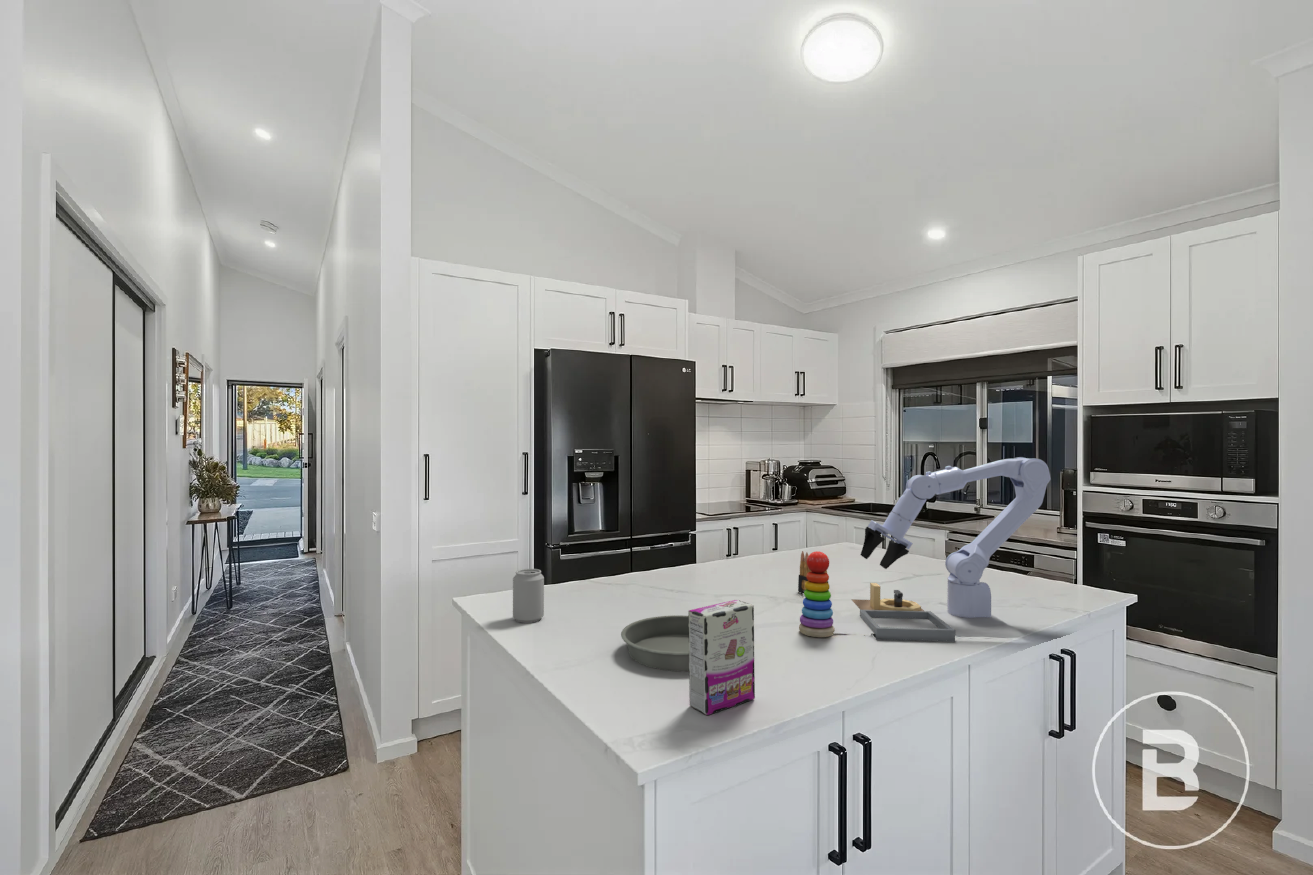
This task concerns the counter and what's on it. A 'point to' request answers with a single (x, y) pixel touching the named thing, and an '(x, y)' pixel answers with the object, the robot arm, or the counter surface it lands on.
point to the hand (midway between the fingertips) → (873, 562)
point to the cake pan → (659, 642)
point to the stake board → (867, 604)
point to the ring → (889, 601)
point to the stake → (898, 598)
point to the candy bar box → (721, 656)
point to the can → (528, 595)
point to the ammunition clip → (803, 573)
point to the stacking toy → (817, 599)
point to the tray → (908, 633)
